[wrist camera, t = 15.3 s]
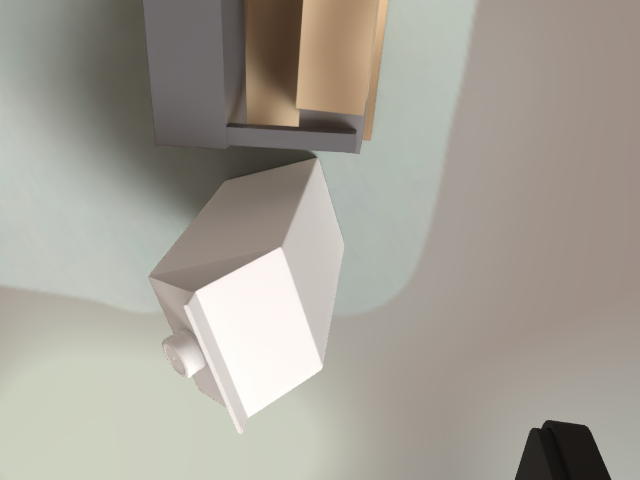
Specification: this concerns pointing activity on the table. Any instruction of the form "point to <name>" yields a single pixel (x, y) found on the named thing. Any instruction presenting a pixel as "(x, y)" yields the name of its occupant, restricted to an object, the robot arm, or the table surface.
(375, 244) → the table surface
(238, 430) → the milk carton
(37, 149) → the table surface
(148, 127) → the table surface
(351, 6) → the stacked wooden blocks
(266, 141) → the grey bracket
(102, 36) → the table surface
